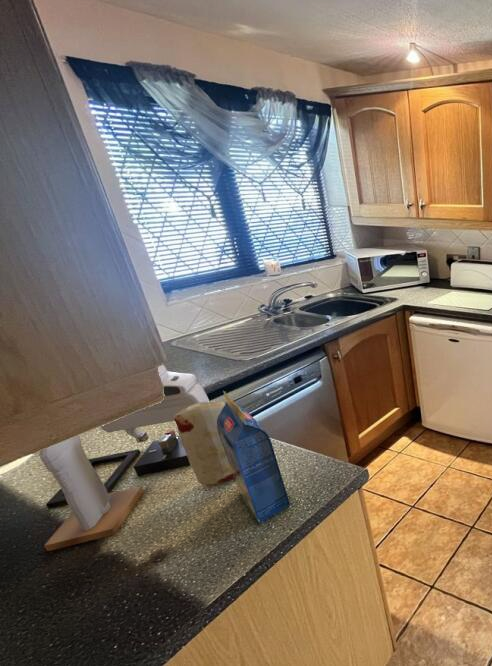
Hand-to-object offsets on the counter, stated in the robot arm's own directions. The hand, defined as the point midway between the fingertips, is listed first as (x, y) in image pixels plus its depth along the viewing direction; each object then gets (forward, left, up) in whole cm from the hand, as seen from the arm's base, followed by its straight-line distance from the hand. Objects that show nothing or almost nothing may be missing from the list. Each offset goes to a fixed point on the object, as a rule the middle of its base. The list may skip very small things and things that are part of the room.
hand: (167, 436), depth 94 cm
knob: (0, 0, -3) cm, 3 cm away
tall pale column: (-7, -17, -5) cm, 19 cm away
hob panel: (0, 0, -6) cm, 6 cm away
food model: (+14, -13, -7) cm, 20 cm away
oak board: (-7, -17, -6) cm, 20 cm away
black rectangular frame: (-14, -2, -6) cm, 16 cm away
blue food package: (+24, -24, -7) cm, 34 cm away
